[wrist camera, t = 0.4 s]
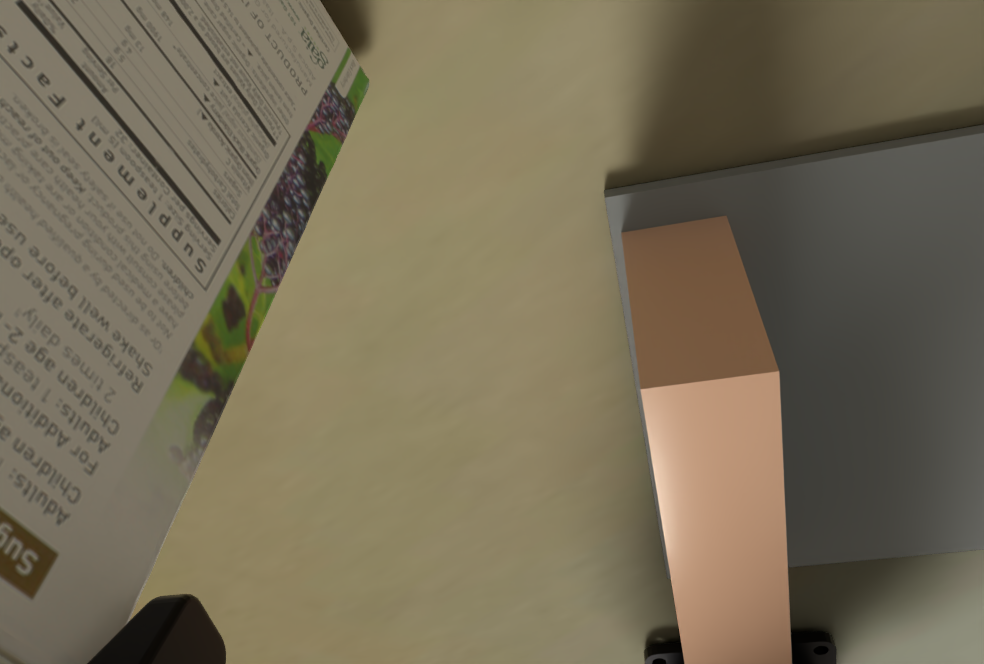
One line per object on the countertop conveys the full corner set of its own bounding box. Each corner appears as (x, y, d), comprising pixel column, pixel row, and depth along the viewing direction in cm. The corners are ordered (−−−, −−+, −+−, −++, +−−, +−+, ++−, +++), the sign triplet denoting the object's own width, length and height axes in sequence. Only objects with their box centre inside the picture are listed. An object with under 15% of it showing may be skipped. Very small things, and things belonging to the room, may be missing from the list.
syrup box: (180, 169, 21) (-239, 799, 10) (-6, -59, 18) (-908, 519, 7) (376, 78, 19) (111, 740, 8) (208, -198, 16) (-593, 313, 5)
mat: (1061, 531, 26) (1068, 541, 26) (666, 568, 29) (667, 578, 28) (1158, 94, 19) (1168, 101, 18) (603, 190, 21) (604, 197, 20)
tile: (756, 549, 27) (800, 732, 22) (671, 557, 28) (696, 738, 23) (731, 214, 20) (786, 370, 16) (621, 232, 21) (640, 389, 16)
